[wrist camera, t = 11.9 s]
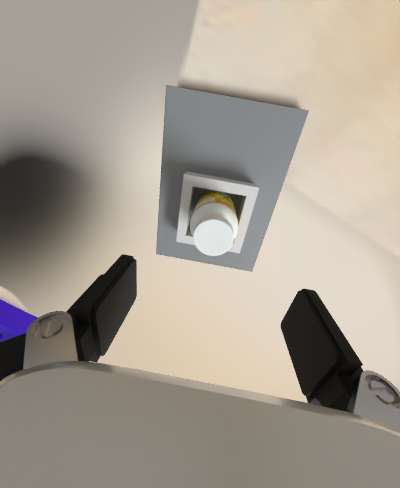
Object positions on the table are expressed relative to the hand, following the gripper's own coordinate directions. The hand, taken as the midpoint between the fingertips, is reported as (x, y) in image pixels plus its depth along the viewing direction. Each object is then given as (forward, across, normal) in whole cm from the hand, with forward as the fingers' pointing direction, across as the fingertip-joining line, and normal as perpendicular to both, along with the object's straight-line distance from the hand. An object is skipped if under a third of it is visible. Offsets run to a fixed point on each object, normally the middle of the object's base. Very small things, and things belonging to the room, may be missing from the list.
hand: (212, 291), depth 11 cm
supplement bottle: (+18, 0, +1) cm, 18 cm away
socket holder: (+19, 0, -1) cm, 19 cm away
